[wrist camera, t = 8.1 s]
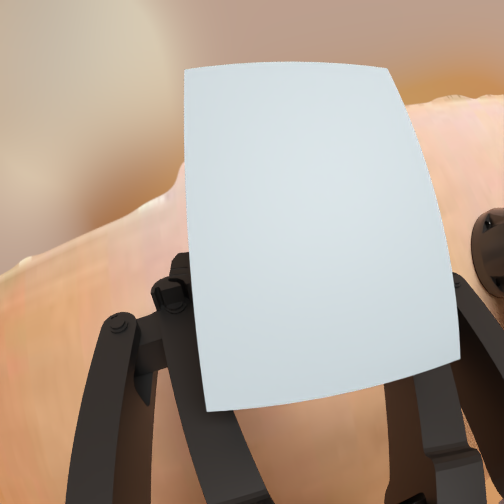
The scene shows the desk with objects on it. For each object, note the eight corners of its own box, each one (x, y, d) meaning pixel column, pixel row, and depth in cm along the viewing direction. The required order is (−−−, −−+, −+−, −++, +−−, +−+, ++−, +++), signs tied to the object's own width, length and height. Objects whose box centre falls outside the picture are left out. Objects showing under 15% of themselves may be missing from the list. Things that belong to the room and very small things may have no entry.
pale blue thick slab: (290, 237, 24) (386, 68, 6) (302, 328, 23) (460, 358, 5) (226, 244, 24) (184, 69, 6) (236, 336, 22) (207, 411, 5)
